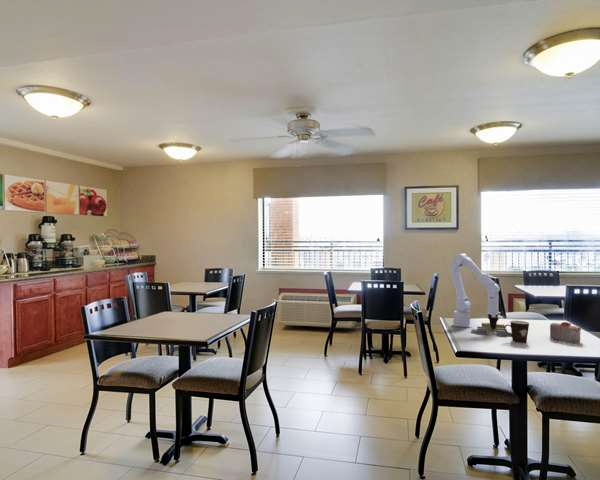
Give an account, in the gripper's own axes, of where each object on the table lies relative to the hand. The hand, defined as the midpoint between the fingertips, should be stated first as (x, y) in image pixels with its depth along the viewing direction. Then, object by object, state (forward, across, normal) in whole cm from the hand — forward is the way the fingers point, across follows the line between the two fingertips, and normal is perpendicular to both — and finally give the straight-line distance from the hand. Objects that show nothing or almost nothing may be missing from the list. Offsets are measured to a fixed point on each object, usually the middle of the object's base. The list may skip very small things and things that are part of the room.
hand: (492, 327), depth 235 cm
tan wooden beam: (+2, 0, 0) cm, 2 cm away
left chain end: (+1, -11, +8) cm, 13 cm away
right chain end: (+1, -11, -5) cm, 12 cm away
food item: (+2, -11, -34) cm, 36 cm away
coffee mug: (+2, -23, -10) cm, 25 cm away
